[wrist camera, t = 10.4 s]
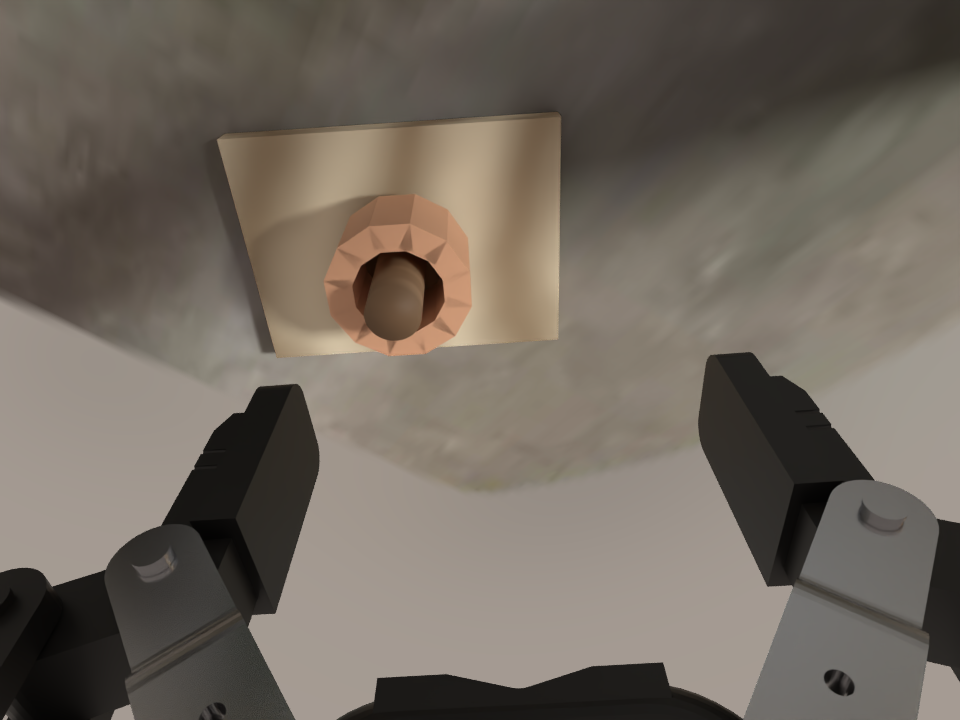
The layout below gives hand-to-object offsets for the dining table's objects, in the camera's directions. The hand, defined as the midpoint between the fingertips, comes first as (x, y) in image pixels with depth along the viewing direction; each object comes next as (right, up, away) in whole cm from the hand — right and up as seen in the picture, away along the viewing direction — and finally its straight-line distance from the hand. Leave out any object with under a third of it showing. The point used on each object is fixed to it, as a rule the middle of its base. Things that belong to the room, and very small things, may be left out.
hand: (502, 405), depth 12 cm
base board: (-4, +7, +21) cm, 22 cm away
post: (-4, +7, +20) cm, 21 cm away
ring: (-4, +6, +18) cm, 20 cm away
